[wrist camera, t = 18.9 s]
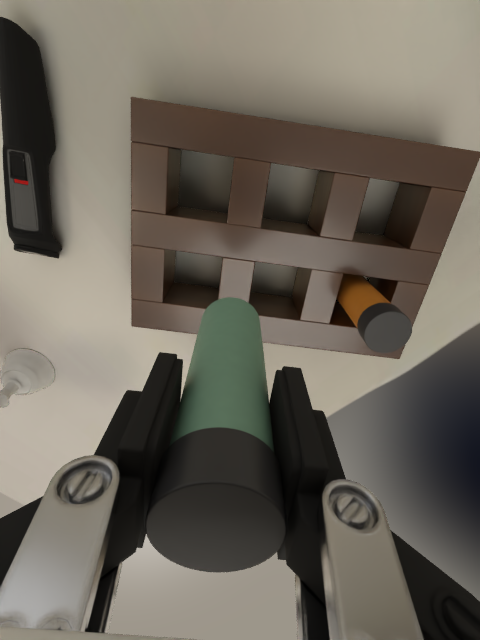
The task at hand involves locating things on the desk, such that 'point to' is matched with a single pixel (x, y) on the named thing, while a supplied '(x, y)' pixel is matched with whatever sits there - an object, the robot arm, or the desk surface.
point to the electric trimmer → (26, 142)
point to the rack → (280, 236)
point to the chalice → (24, 374)
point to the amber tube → (373, 315)
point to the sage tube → (221, 454)
